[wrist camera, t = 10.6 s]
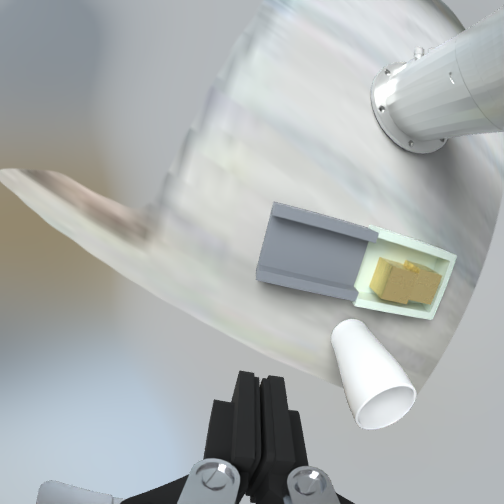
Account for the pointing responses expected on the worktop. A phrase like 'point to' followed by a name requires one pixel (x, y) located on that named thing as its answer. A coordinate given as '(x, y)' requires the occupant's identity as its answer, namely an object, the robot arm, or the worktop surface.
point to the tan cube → (424, 283)
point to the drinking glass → (370, 377)
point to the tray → (399, 251)
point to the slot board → (313, 252)
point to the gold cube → (393, 281)
